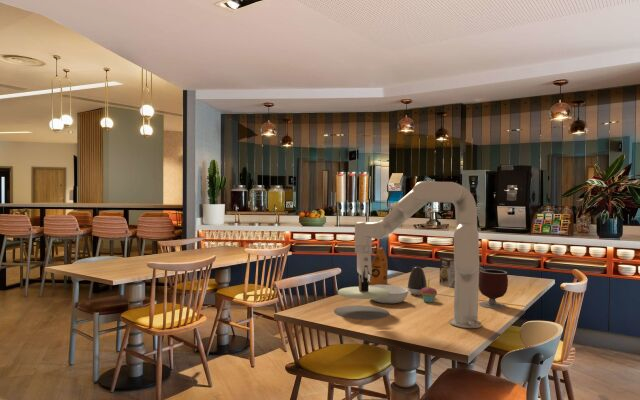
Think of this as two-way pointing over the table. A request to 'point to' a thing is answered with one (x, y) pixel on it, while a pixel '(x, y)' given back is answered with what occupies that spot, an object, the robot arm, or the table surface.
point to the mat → (361, 312)
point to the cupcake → (428, 293)
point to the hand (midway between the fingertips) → (363, 289)
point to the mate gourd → (492, 286)
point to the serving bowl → (392, 294)
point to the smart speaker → (416, 281)
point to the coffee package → (379, 268)
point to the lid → (363, 292)
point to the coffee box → (447, 272)
